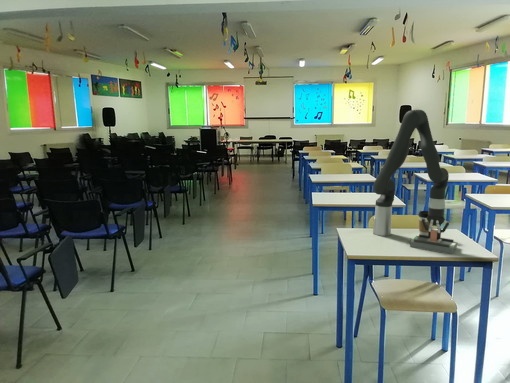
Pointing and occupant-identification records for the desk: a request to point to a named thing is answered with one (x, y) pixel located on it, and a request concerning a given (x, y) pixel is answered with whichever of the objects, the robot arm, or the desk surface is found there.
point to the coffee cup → (421, 227)
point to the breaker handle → (434, 236)
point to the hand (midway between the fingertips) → (434, 238)
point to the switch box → (433, 244)
